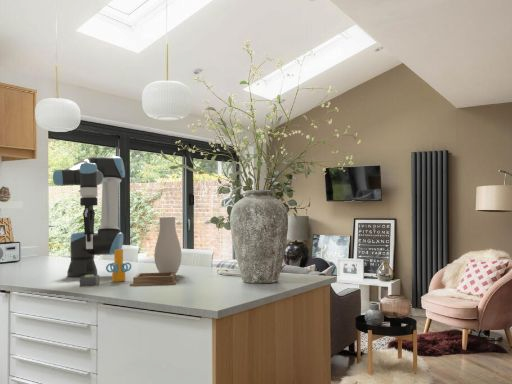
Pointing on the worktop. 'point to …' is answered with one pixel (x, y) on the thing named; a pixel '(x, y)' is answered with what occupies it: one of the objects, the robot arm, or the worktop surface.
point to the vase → (167, 247)
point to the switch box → (89, 281)
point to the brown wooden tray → (154, 279)
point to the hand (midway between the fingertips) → (89, 248)
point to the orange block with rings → (118, 266)
